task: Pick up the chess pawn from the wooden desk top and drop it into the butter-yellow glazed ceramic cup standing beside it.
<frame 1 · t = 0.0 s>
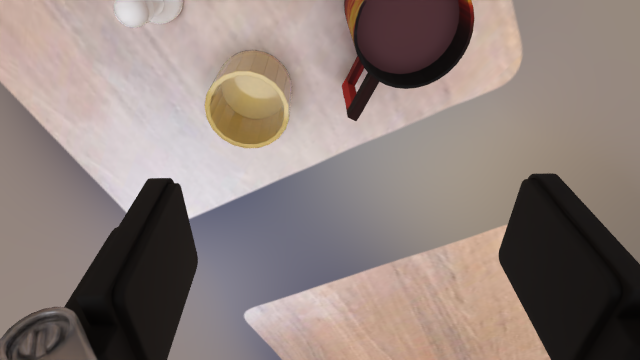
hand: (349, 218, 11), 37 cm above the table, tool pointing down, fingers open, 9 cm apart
mug: (387, 23, 44), on the table
yellow cup: (255, 87, 47), on the table
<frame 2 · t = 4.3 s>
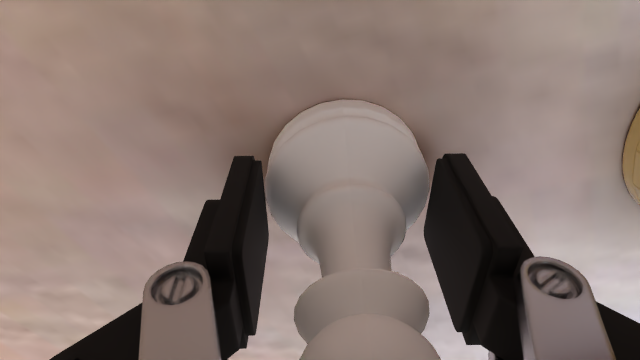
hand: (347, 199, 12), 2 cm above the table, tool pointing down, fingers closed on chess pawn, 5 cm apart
chess pawn: (343, 163, 14), on the table, touching gripper
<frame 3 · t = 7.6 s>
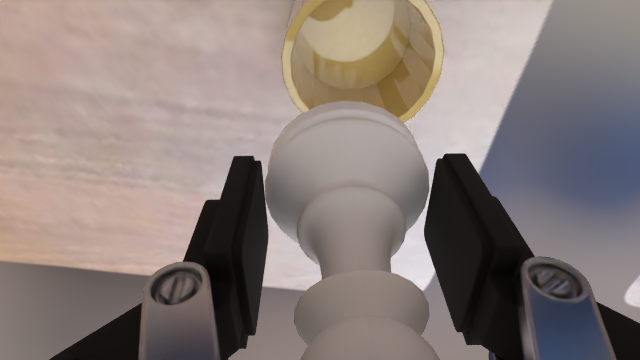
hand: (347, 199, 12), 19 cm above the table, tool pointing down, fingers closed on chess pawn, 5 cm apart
chess pawn: (343, 164, 14), point 17 cm above the table, touching gripper
yellow cup: (351, 32, 27), on the table
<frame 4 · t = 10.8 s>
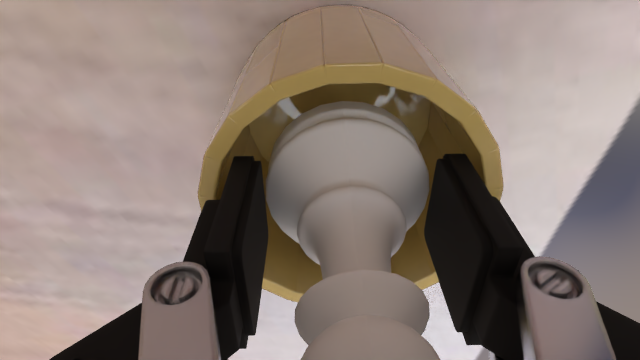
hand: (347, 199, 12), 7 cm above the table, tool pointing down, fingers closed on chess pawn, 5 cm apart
chess pawn: (343, 165, 14), point 4 cm above the table, touching gripper
yellow cup: (338, 110, 17), on the table
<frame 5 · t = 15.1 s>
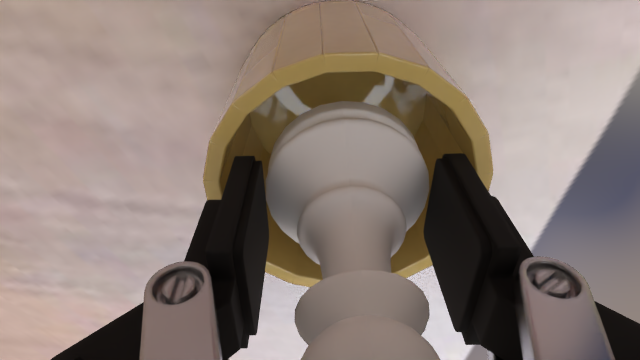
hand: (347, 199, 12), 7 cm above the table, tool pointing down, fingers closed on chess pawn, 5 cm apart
chess pawn: (343, 165, 14), point 5 cm above the table, touching gripper
yellow cup: (336, 103, 18), on the table
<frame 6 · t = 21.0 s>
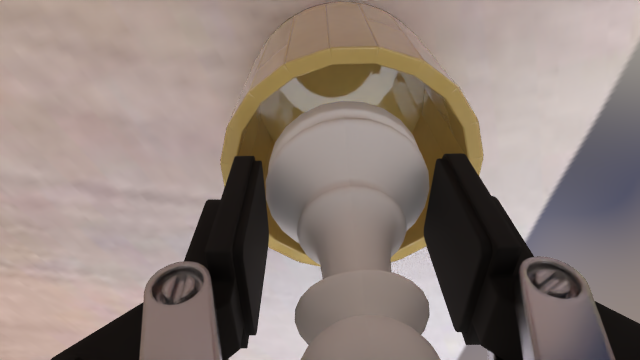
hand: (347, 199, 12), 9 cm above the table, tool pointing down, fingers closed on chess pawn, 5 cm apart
chess pawn: (343, 164, 14), point 7 cm above the table, touching gripper
yellow cup: (340, 98, 19), on the table
when the fingers open (9 cm above the table, at t = 25.9 s): chess pawn drops 7 cm, resting on yellow cup.
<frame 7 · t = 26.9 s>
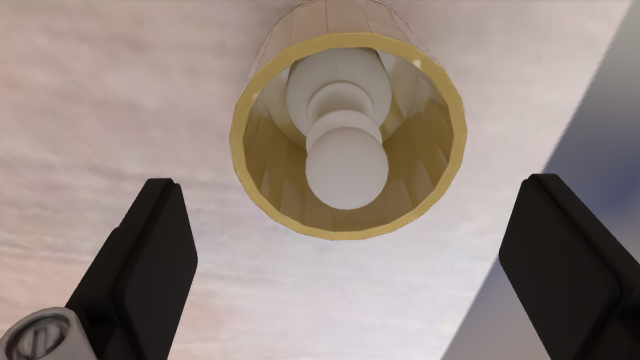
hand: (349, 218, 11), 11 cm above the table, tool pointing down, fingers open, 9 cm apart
chess pawn: (337, 86, 20), resting on yellow cup
yellow cup: (339, 85, 21), on the table
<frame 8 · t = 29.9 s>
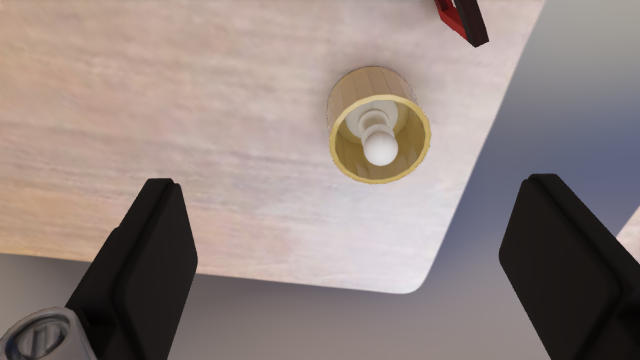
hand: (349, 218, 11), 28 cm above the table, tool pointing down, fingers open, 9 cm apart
chess pawn: (369, 109, 40), resting on yellow cup
yellow cup: (370, 108, 40), on the table
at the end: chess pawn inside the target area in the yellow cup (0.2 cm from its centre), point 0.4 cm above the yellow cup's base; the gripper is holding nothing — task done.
